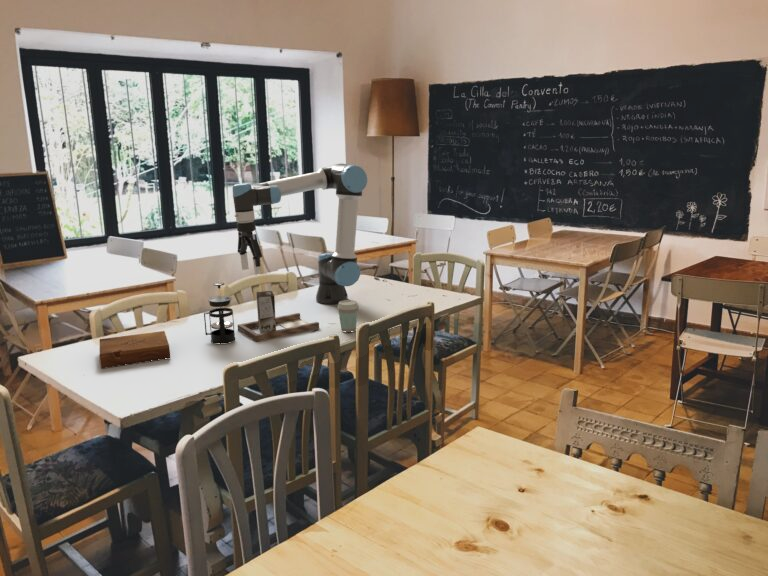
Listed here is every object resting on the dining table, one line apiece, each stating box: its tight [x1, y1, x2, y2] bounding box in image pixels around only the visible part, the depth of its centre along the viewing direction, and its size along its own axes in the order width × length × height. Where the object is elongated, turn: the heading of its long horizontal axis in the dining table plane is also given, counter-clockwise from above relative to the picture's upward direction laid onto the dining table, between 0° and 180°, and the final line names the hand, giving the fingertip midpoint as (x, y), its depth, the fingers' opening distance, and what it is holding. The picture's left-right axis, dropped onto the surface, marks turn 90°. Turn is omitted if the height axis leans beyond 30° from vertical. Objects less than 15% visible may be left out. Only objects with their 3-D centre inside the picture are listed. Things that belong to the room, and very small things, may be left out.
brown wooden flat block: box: [99, 330, 171, 369], centre depth 233 cm, size 23×19×6 cm
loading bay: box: [237, 312, 320, 342], centre depth 261 cm, size 28×18×2 cm, turn 125°
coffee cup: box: [336, 299, 359, 332], centre depth 257 cm, size 9×8×12 cm
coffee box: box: [255, 290, 277, 334], centre depth 256 cm, size 9×6×16 cm
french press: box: [203, 282, 236, 345], centre depth 246 cm, size 12×9×23 cm
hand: (251, 271), depth 267 cm, fingers open, 13 cm apart
